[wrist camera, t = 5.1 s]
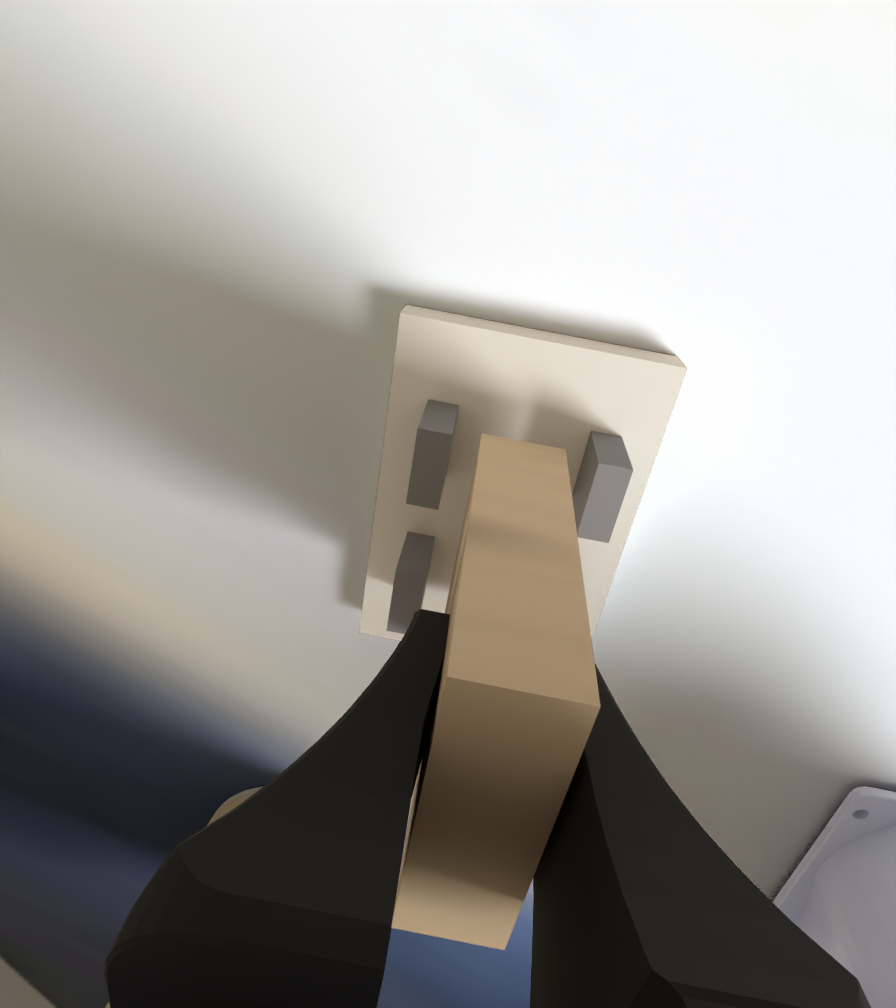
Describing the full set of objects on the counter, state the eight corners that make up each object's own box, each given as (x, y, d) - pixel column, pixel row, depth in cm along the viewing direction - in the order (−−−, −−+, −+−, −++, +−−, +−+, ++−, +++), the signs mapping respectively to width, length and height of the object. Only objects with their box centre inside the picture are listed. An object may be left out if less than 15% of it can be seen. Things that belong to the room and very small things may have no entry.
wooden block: (511, 641, 18) (504, 950, 11) (441, 628, 18) (391, 927, 11) (565, 449, 15) (600, 706, 8) (481, 433, 15) (446, 676, 8)
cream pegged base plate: (576, 654, 21) (583, 724, 19) (365, 612, 21) (344, 677, 19) (678, 356, 17) (708, 395, 14) (406, 304, 17) (384, 333, 14)
